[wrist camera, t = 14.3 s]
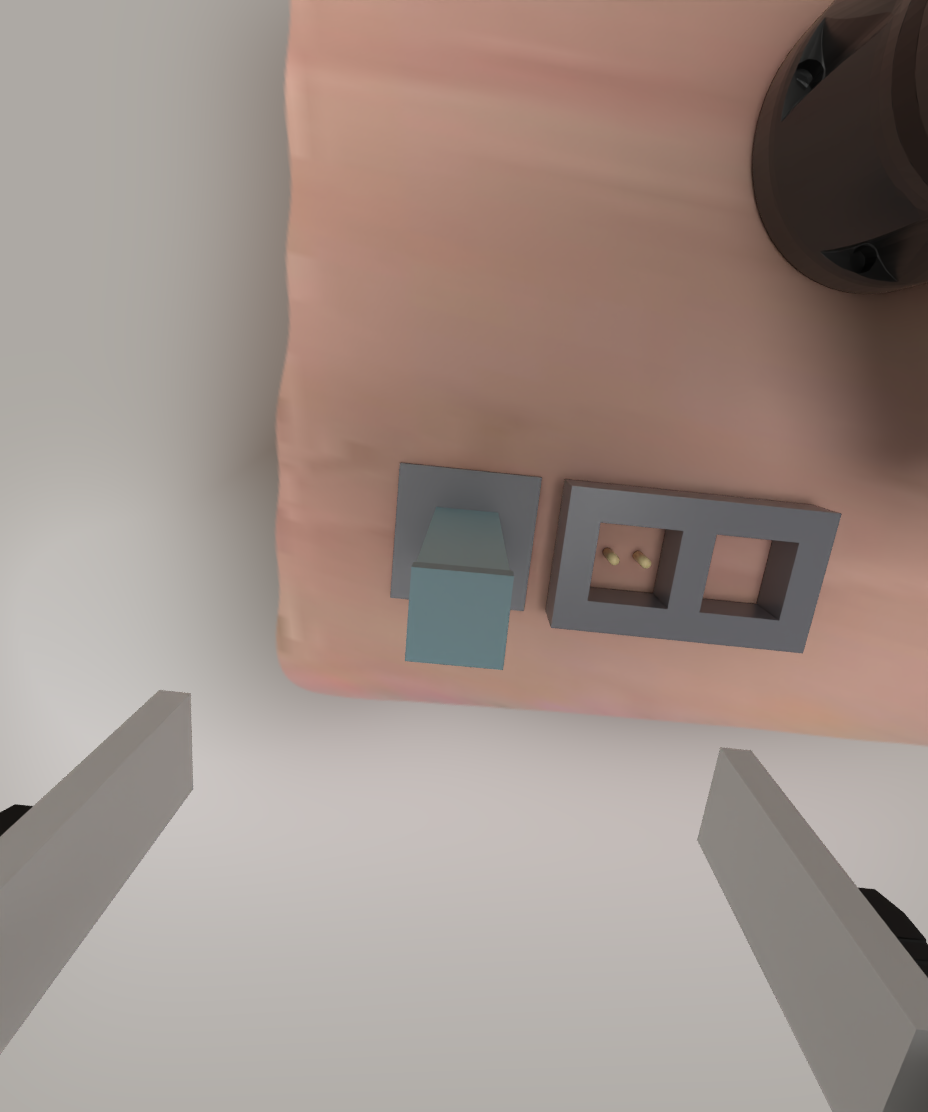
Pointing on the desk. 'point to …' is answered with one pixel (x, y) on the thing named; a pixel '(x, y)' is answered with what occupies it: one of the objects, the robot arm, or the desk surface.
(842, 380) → the desk surface
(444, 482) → the pad
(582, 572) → the header
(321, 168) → the desk surface
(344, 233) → the desk surface
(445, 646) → the plug
